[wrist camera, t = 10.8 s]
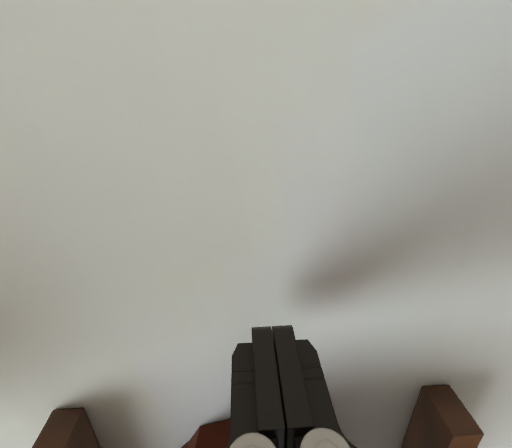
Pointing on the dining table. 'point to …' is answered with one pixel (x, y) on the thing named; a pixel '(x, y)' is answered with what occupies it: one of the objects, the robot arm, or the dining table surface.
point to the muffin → (211, 436)
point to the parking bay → (415, 444)
